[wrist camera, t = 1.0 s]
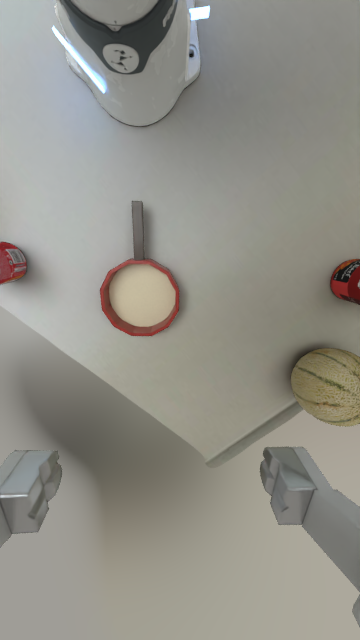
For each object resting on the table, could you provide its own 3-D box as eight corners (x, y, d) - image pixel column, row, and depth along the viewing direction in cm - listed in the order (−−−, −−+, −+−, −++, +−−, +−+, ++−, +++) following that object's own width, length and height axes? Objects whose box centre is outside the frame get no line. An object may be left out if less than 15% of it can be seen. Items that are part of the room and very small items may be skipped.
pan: (98, 203, 37) (90, 198, 33) (180, 206, 38) (181, 202, 34) (110, 327, 45) (104, 335, 41) (177, 328, 45) (178, 336, 42)
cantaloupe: (274, 393, 52) (313, 449, 38) (283, 337, 47) (331, 378, 33) (334, 390, 53) (394, 445, 38) (349, 335, 48) (424, 374, 33)
